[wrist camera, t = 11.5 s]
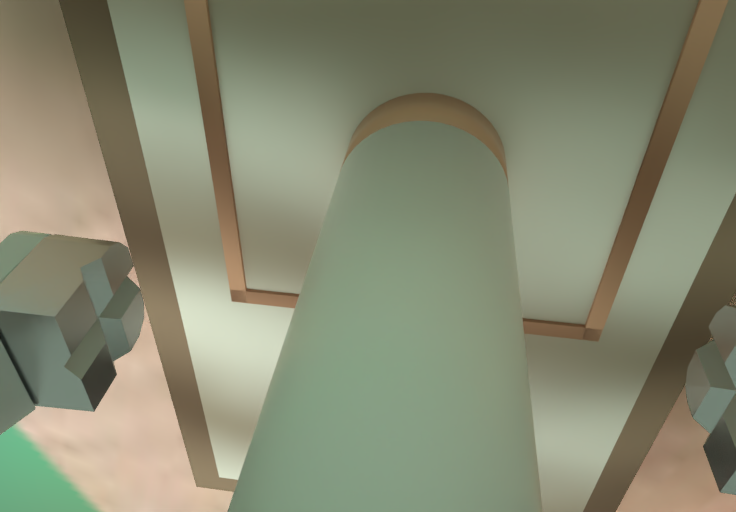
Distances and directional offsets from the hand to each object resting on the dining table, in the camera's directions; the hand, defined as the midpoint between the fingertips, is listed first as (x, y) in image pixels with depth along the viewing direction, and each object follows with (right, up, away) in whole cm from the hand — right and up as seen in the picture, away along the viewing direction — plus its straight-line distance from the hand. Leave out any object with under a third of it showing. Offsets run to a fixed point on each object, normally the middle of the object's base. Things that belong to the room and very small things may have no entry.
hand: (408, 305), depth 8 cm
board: (+1, 0, +7) cm, 7 cm away
